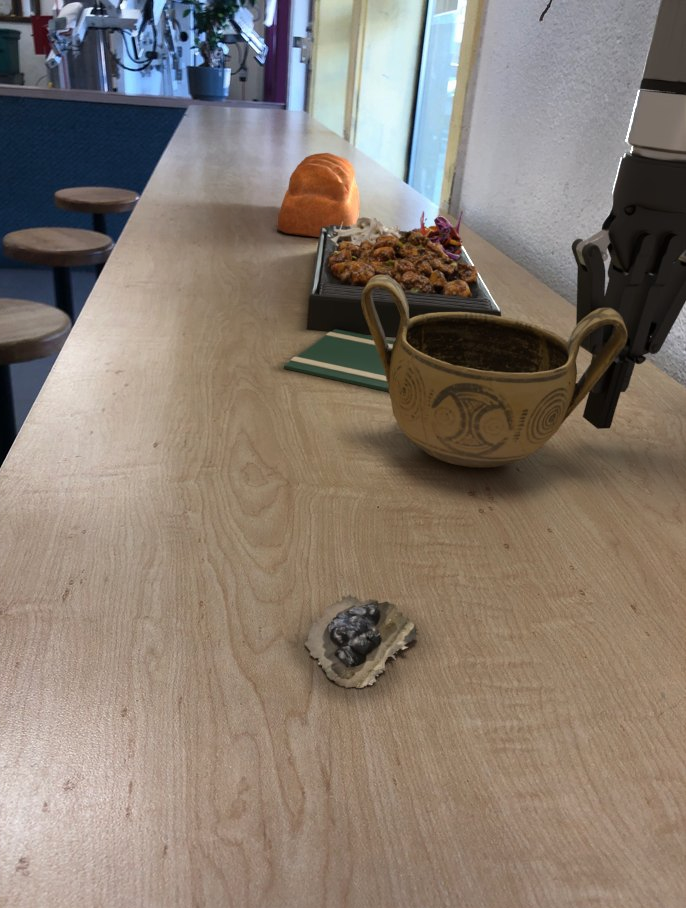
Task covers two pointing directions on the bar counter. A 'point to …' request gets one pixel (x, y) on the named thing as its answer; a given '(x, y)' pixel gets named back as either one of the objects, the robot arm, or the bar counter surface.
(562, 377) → the ceramic bowl
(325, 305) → the food platter
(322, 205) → the bread
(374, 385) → the dish cloth
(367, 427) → the bar counter surface
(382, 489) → the bar counter surface
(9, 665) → the bar counter surface
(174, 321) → the bar counter surface
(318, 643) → the dark lumps on shell
